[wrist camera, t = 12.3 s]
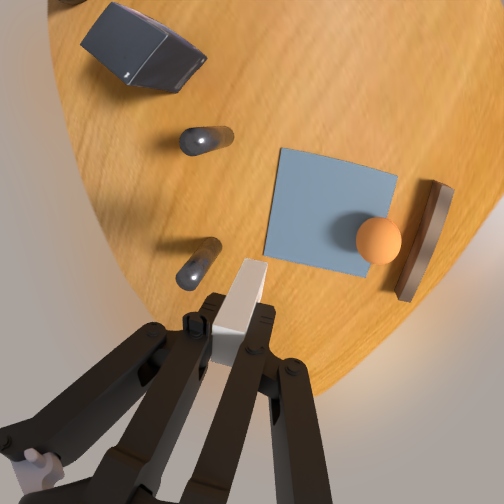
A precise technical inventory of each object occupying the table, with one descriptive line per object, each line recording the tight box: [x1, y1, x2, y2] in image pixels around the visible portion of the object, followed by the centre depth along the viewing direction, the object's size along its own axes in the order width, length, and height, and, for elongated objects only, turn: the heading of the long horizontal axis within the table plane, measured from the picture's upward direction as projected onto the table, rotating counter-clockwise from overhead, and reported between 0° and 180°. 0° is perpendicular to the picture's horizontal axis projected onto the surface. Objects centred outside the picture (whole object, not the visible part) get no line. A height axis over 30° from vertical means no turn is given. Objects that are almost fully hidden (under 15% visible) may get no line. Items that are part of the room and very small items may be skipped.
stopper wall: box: [394, 180, 455, 302], centre depth 29 cm, size 16×2×2 cm, turn 172°
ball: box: [356, 217, 401, 265], centre depth 29 cm, size 6×6×6 cm
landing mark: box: [264, 148, 398, 278], centre depth 32 cm, size 14×14×1 cm
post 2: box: [176, 237, 222, 291], centre depth 33 cm, size 3×3×9 cm
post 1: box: [179, 126, 234, 156], centre depth 26 cm, size 3×3×9 cm
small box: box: [80, 2, 207, 93], centre depth 21 cm, size 11×6×10 cm, turn 46°
